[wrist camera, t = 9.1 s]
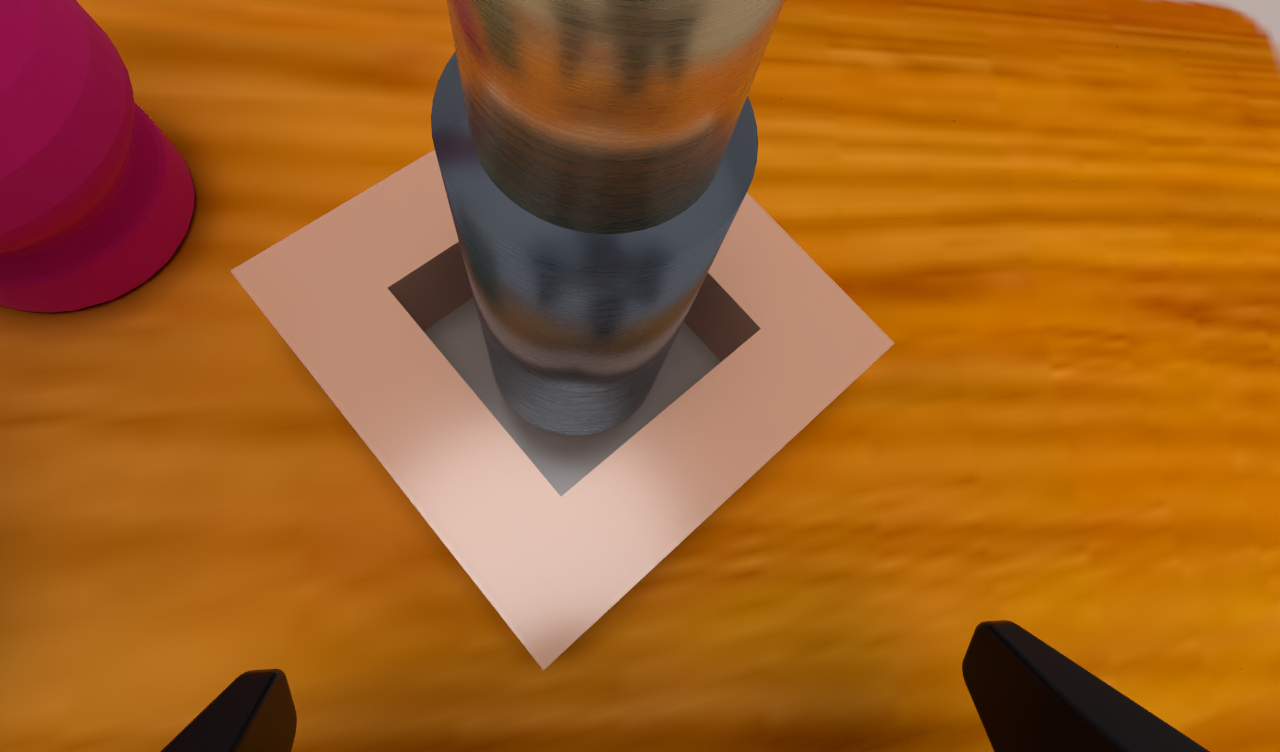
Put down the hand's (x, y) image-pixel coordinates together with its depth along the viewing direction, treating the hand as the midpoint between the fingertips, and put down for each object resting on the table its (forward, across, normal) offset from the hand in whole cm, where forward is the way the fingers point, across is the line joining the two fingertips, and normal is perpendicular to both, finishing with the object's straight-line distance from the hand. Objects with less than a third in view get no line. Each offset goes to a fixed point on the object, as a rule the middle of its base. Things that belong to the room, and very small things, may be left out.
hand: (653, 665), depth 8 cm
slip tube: (+11, +1, +1) cm, 11 cm away
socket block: (+11, +1, +1) cm, 11 cm away
